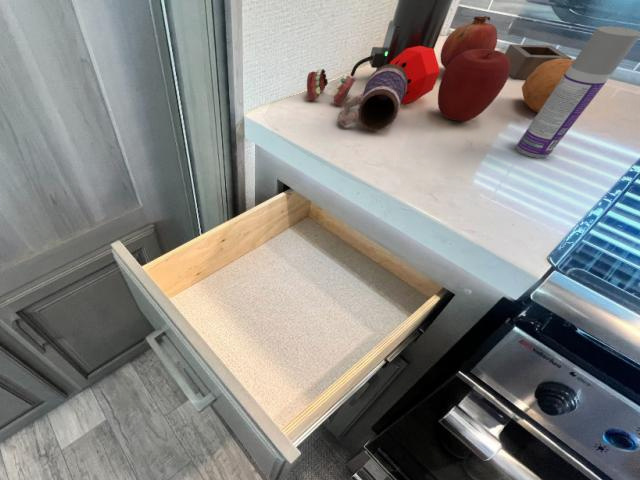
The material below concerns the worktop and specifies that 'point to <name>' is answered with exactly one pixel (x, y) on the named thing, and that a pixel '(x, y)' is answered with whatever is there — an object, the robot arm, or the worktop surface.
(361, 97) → the mug
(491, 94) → the apple
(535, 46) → the socket
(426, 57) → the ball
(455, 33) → the fruit
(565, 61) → the potato
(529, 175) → the worktop surface
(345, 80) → the dentures
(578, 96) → the container
